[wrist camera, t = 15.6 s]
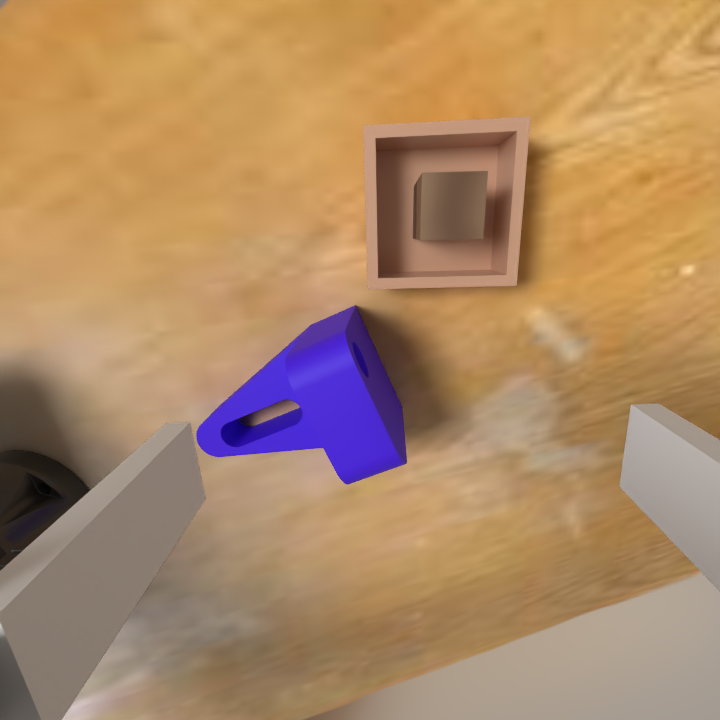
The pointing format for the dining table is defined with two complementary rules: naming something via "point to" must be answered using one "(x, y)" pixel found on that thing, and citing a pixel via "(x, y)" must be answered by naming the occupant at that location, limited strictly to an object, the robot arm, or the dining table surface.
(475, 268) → the planter
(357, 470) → the bracket
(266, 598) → the dining table surface
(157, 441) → the robot arm
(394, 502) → the dining table surface
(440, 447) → the dining table surface
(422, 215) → the walnut post
